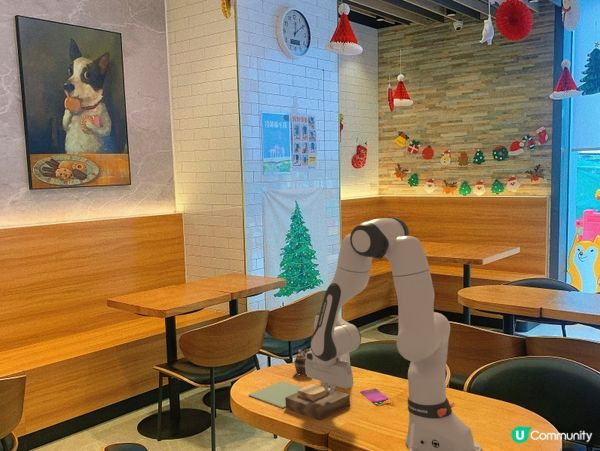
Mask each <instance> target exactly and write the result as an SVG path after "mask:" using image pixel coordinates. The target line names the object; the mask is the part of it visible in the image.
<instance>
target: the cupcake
mask: <svg viewBox="0 0 600 451" xmlns="http://www.w3.org/2000/svg"><path fill="white" fill-rule="evenodd" d="M309 351H312V350H311V347H309V348H300V349H299V350H298V353H297V354H296V356H295V360H294V364H293V365H294V368H295V371H296V374H297V373H298V374H300V375H299V376H301V375H306V372H305V361H306V358H305V353H307V352H309ZM298 374H297V375H298Z"/></svg>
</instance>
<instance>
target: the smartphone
mask: <svg viewBox="0 0 600 451" xmlns="http://www.w3.org/2000/svg"><path fill="white" fill-rule="evenodd" d="M359 393H360V394H361V395H363V397H364V398H366V399H367V400H368V401H369V402H371V404H373V406H376V407H380V406H379V405H381V404H382V403H383V402H384V401H386V400H388V399H390V398H389V397H388V396H386V395H385V394H384V393H382V392H381V391H380V390H379V389H377V388H371V389H368V390H367V389H366V390H360V392H359ZM381 406H382V405H381Z"/></svg>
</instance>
